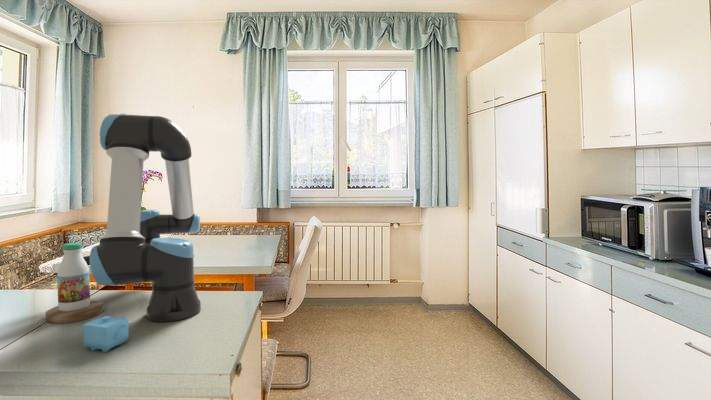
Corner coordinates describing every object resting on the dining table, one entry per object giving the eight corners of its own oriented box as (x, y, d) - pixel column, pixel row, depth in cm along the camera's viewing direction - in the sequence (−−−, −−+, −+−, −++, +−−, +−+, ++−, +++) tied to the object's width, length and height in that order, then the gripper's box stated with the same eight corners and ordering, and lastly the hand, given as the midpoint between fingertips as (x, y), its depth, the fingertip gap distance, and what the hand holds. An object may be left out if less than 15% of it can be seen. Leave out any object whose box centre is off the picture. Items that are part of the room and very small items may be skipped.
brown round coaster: (114, 309, 114) (114, 302, 114) (68, 326, 101) (67, 319, 101) (82, 304, 118) (81, 298, 118) (33, 320, 105) (33, 313, 105)
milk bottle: (56, 308, 109) (53, 243, 108) (87, 301, 115) (84, 240, 114) (61, 314, 104) (58, 247, 103) (93, 307, 110) (90, 243, 109)
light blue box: (139, 344, 90) (138, 315, 90) (118, 355, 84) (117, 324, 84) (102, 339, 93) (101, 310, 93) (78, 349, 87) (77, 319, 87)
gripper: (159, 267, 127) (106, 284, 106) (100, 263, 132) (39, 279, 111) (158, 246, 127) (105, 259, 106) (99, 243, 131) (38, 255, 111)
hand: (71, 269), depth 108 cm, fingers open, 13 cm apart
